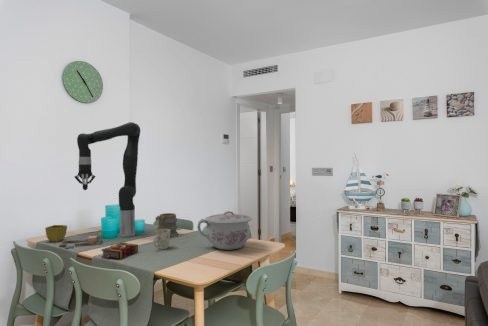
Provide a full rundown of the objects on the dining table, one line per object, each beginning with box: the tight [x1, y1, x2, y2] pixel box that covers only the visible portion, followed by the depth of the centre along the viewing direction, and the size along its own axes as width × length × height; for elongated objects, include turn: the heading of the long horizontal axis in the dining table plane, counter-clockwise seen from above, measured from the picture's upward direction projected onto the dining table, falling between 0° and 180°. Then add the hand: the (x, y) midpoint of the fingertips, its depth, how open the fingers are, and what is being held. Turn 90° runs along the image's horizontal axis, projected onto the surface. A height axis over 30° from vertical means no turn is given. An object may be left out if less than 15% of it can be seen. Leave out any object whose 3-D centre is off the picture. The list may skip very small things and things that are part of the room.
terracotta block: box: [87, 235, 97, 243], centre depth 192 cm, size 5×5×4 cm
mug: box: [153, 229, 171, 250], centre depth 180 cm, size 8×13×10 cm, turn 161°
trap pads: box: [64, 238, 88, 250], centre depth 189 cm, size 5×20×1 cm, turn 0°
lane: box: [58, 232, 103, 248], centre depth 190 cm, size 22×10×5 cm, turn 110°
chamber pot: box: [196, 211, 253, 251], centre depth 184 cm, size 28×28×21 cm
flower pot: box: [44, 224, 68, 243], centre depth 198 cm, size 9×9×9 cm
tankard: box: [154, 212, 179, 238], centre depth 210 cm, size 20×13×15 cm, turn 159°
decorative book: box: [101, 242, 139, 260], centre depth 168 cm, size 11×16×5 cm
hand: (85, 189), depth 211 cm, fingers closed
